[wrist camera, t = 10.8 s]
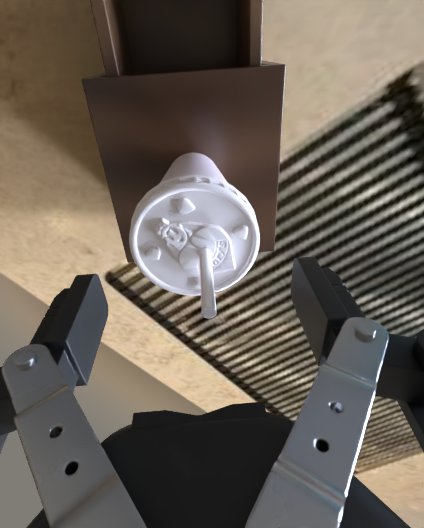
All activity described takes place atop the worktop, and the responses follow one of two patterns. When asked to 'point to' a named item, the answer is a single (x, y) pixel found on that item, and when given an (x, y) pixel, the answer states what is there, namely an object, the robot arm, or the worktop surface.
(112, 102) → the cabinet
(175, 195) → the smoothie
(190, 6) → the drawer
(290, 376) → the worktop surface
